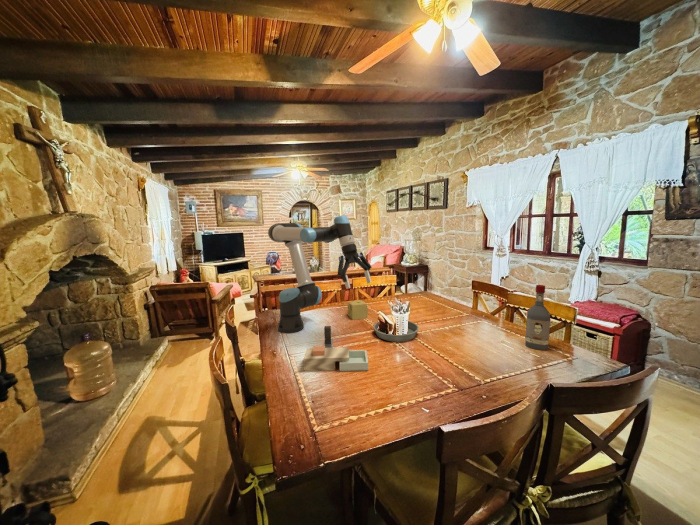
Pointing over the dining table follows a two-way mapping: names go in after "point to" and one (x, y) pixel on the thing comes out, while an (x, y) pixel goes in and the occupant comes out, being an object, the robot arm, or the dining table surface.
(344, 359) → the ledge
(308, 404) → the dining table surface
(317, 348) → the tile
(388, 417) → the dining table surface
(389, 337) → the cake pan
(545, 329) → the liquor
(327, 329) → the scraper
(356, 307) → the cheese
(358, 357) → the box
